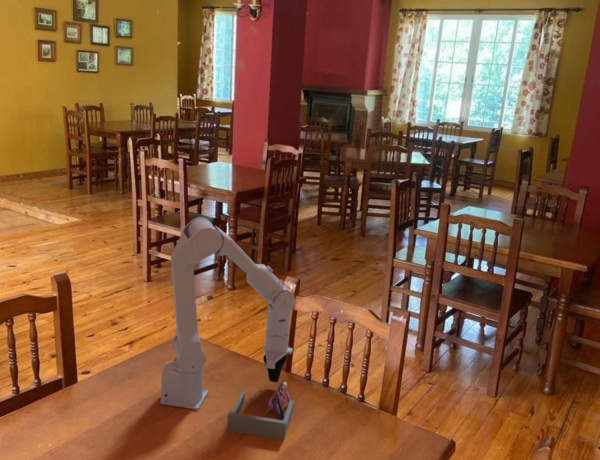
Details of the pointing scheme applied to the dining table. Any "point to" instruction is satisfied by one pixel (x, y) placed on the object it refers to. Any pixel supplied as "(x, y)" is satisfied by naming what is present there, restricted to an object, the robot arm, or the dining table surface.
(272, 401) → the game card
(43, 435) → the dining table surface
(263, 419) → the frame
